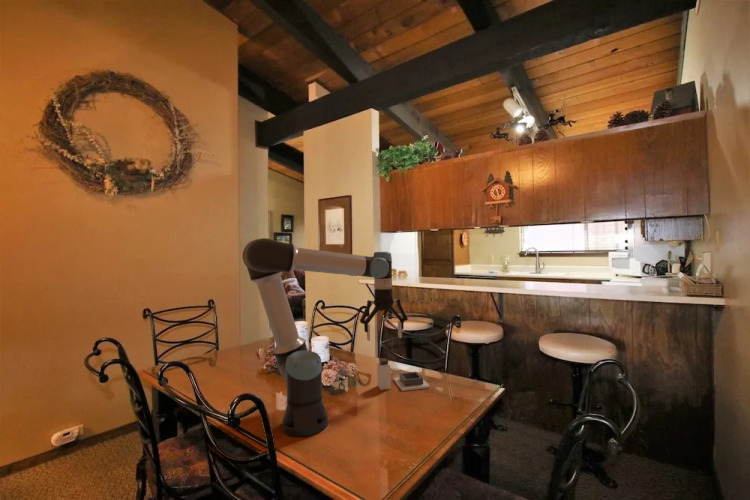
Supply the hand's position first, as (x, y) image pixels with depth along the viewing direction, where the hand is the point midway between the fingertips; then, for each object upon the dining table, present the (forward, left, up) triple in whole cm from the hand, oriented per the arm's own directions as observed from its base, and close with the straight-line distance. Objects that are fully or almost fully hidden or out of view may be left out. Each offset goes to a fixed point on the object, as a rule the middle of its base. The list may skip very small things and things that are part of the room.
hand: (384, 338), depth 142 cm
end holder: (+12, 0, -21) cm, 24 cm away
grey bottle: (0, 0, -21) cm, 21 cm away
